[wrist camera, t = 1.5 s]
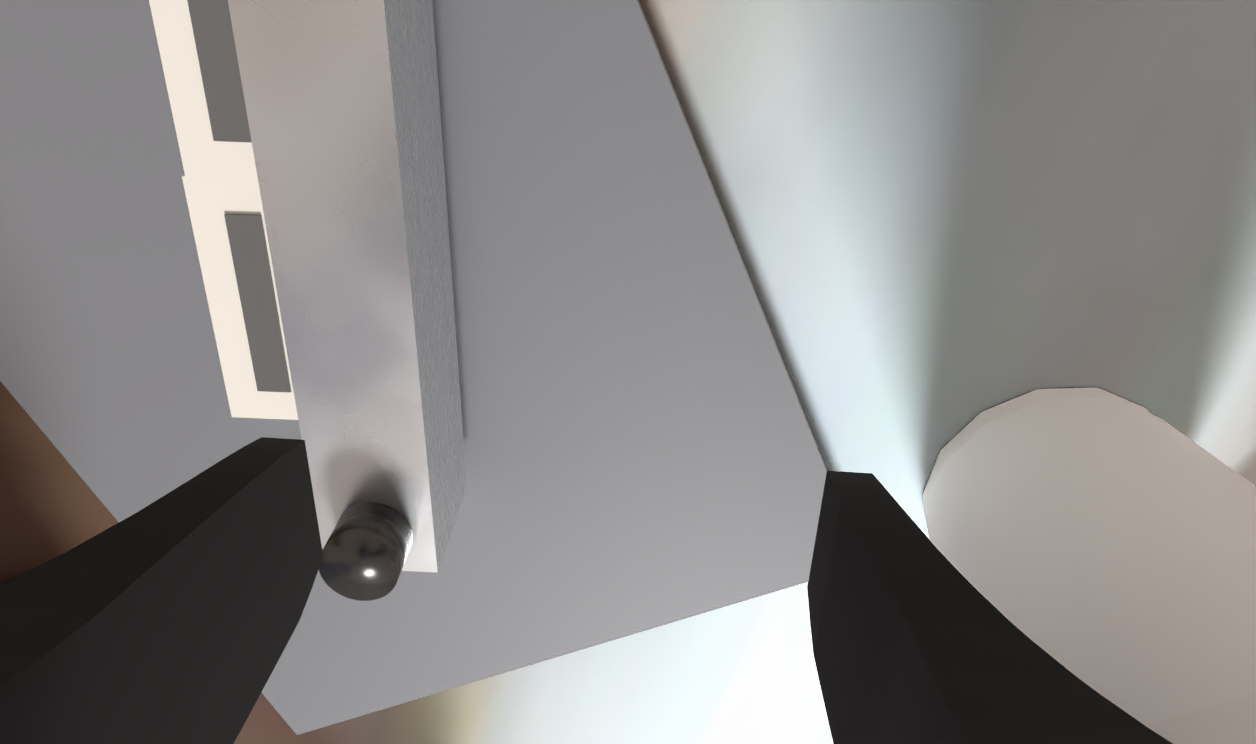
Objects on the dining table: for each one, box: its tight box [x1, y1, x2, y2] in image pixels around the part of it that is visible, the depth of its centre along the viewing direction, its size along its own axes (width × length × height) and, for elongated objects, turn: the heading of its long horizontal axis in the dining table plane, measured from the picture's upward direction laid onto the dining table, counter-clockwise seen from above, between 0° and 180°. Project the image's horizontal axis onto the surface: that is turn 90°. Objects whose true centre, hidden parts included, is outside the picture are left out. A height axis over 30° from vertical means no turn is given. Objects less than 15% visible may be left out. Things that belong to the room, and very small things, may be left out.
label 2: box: [182, 175, 298, 420], centre depth 21 cm, size 6×4×1 cm, turn 179°
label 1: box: [149, 0, 258, 179], centre depth 18 cm, size 6×4×1 cm, turn 179°
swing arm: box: [228, 0, 467, 601], centre depth 16 cm, size 20×4×4 cm, turn 179°
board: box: [0, 0, 828, 735], centre depth 21 cm, size 18×26×1 cm
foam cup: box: [922, 387, 1256, 744], centre depth 18 cm, size 10×9×13 cm
